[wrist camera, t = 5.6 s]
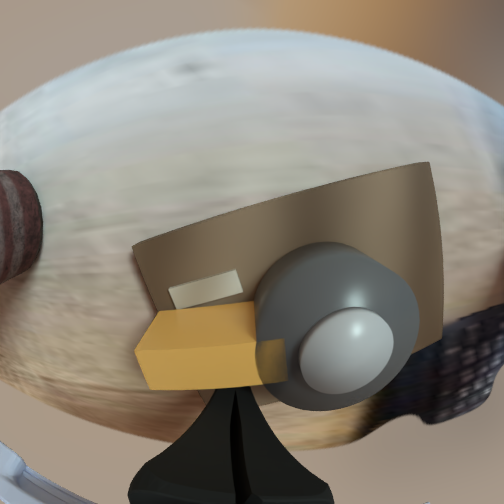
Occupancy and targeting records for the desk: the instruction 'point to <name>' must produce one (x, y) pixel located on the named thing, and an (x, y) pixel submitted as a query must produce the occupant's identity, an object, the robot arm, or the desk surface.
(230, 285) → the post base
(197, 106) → the desk surface
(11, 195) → the can
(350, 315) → the toy saucepan
